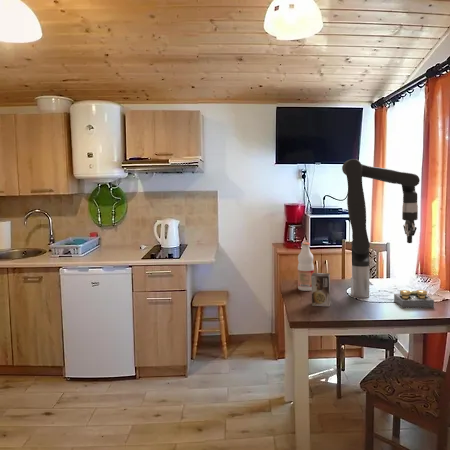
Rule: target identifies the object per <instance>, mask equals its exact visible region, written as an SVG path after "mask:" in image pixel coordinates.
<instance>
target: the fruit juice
mask: <svg viewBox="0 0 450 450" xmlns="http://www.w3.org/2000/svg"><path fill="white" fill-rule="evenodd" d="M300 245H301V250H300V252H299V253H298V255H297V261H298V264H297V288H298V290H299V291H304V292H306V291H307V292H308V291H311V292H312V282H311V276H312V274H313V273H315V266H314V265H315V264H314V254H313V253H312V252H311V249H310V245H311V243H310V242H305V241H303V242H301V244H300Z"/></svg>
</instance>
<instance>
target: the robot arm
mask: <svg viewBox="0 0 450 450" xmlns="http://www.w3.org/2000/svg"><path fill="white" fill-rule="evenodd" d="M341 171H342V173H343V174H344V175H345V176H346V179H347V188H348V189H347V198H346V204H347V212H348V219H349V223H350V225H351V232H352V233H351V234H352V240H351V278H350V295H351V297H353V298H359V299H361V298H365V299H366V298H369V297H370V247H371V245H370V241H369V236H368V233H367V230H368V229H367V207H366V199H365V193H364V187H363V178H368V179H372V180H377V181H379V182H380V181H381V182H385V183H389V184H396V185H401V189H402V194H403V195H402V213H401V214H402V215H401V217H402V220H403V221H405V223H404V224H403V226H402V227H403V230H404V234H405V236H406V243H408V244H412V243H413V237H414V236H415V234H416V231H417V226H416V223H415V221H417V220H419V219H418V218H419V213H418V210H419V209H418V208H419V207H418V193H417V191H416V187H418V185H419V184H420V181H421V180H420V177H419V176H418V175H417V174H415V173H411V172H405V171H403V172H402V171H398V170H395V169H389V168H385V167H378V166H377V167H376V166H369V165H366V164H362V162H360V160H359V159H356V158H351V159H348V160H346V161H345V162H343V164H342V166H341Z"/></svg>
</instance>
